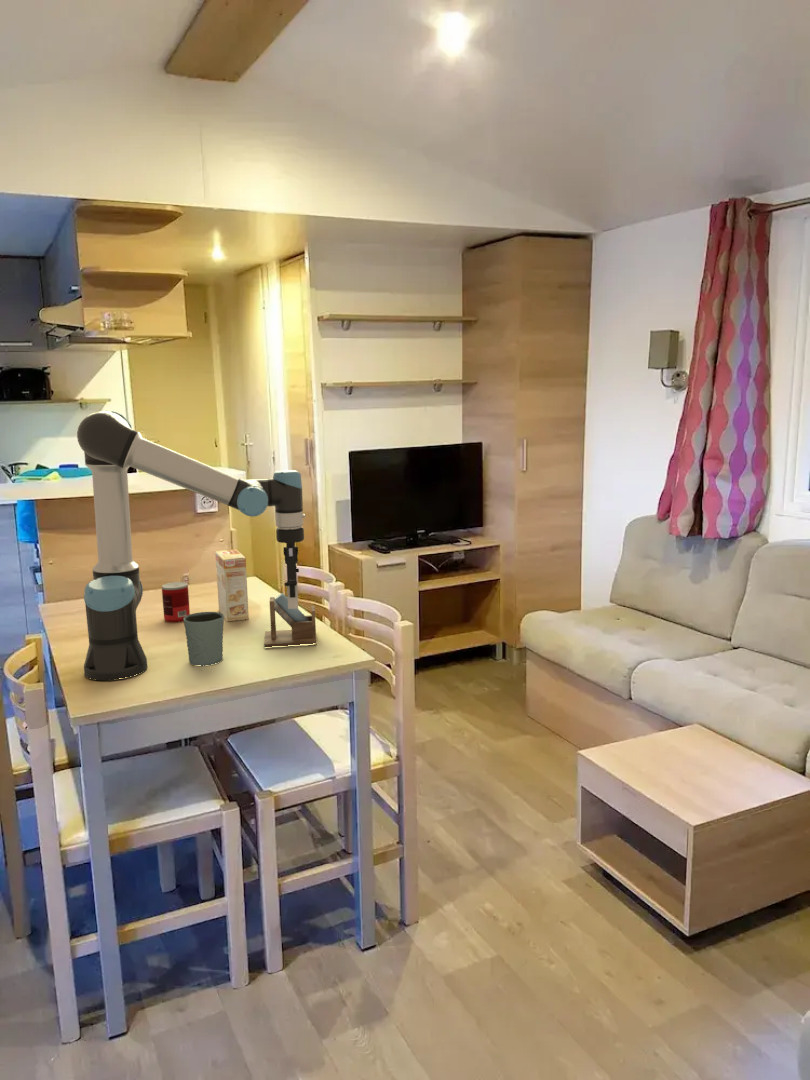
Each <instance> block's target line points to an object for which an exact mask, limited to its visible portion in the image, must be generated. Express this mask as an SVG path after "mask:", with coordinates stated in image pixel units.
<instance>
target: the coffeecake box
mask: <svg viewBox="0 0 810 1080" xmlns="http://www.w3.org/2000/svg"><path fill="white" fill-rule="evenodd" d="M214 553H215V554H214V555H215V569H216V585H217V586H216V588H217V601H218V602H217V603H218V604H217V605H218V611H219V613H221V614H223V615H224V620H225V621H226V622H228V621H229V622H235V621H236V620H237V621H244V620H245V619H246V620H249V619H250V617H249V613H250V612H249V599H248V598H249V597H248V596H249V595H248V576H247V575H248V574H247V557H245V556H244V555H243V554H242V553H241V552H240V551H238V550H237V549H235V548H233V549H223V550H215V552H214ZM246 620H245V621H246Z"/></svg>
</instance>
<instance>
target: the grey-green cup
mask: <svg viewBox="0 0 810 1080" xmlns="http://www.w3.org/2000/svg"><path fill="white" fill-rule="evenodd" d="M183 620H184V621H183V625H184V631H185V632H184V633H185V637H186V647H187V651H188V652H187V654H188V661H189V664H190V663H191V664H193V665H192V666H194V665H201V666H200V667H206V666H205V665H211V664H215V663H218V662H220V661H221V660H222V661H223V658H224V657H223V652H224V650H223V649H224V646H223V645H224V643H223V642H224V621H225V618H224V615H223V614H221V612H217V611H204V612H203V611H202V612H200V611H199V612H195V613H190V615H187V616H185V617H184V618H183ZM222 661H221V662H222ZM221 662H220V663H221ZM191 664H190V665H191ZM218 664H219V663H218ZM203 665H204V666H203ZM215 665H216V664H215ZM211 666H212V665H211Z"/></svg>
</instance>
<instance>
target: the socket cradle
mask: <svg viewBox="0 0 810 1080" xmlns="http://www.w3.org/2000/svg"><path fill="white" fill-rule="evenodd" d="M275 599H276V597H275V596H270V597H269V618H270V630H266V631H265V634H264V640H263V641H264V642H263V648H264V647H272V646H288V645H300V644H313V643H316V644H317V632H316V631H317V630H316V629H317V627H316V607H315V605H311V606H310V609H311V615H304V616H305V617H306V618H307V619H308V620H309V621H302V622H295V621H294V620H293V619H292V618H291V617H290V616H289V615H288V614H287V613H286V612H285V611H284V610H283V609H282V608H281V607H280V606H279V605H278V604H277V603H276V602H275V601H274V600H275ZM276 613H277V614H278V615H279V617H280V618H282V619H283V620H284V622H286V623H287V624H288V626H289V627H291V629H287V630H286V629H285V630H282V629H281V630H277V628H276V627H277V623H276Z"/></svg>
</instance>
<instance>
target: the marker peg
mask: <svg viewBox="0 0 810 1080" xmlns="http://www.w3.org/2000/svg"><path fill="white" fill-rule="evenodd" d="M274 601H275V602H276V603H277V604H278V605H279V606H280V607H281V608H282V609H283V610H284V611H285V612H286V613H287V614H288V615H289V616H290V617H291V618H292V619H293V620H294V621H295V622H302V621H309V620H308V619H307V618H306V617H305V616H306V615H305V614H304V613H302V611H301V610H300V609H299V607H298V608H297V609H288V596H286V595H285V594H284V592H283V593H282V592H281V593H280V594H279V595H278V596H277V597H275V600H274Z"/></svg>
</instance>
